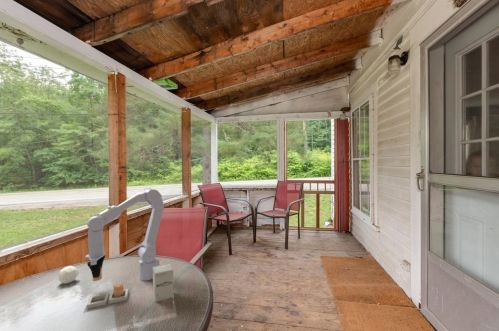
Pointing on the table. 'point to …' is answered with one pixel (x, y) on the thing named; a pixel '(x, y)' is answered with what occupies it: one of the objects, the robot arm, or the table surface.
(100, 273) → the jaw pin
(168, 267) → the supplement box
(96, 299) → the housing
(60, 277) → the ball
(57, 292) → the table surface
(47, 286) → the table surface
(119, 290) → the jaw pin
